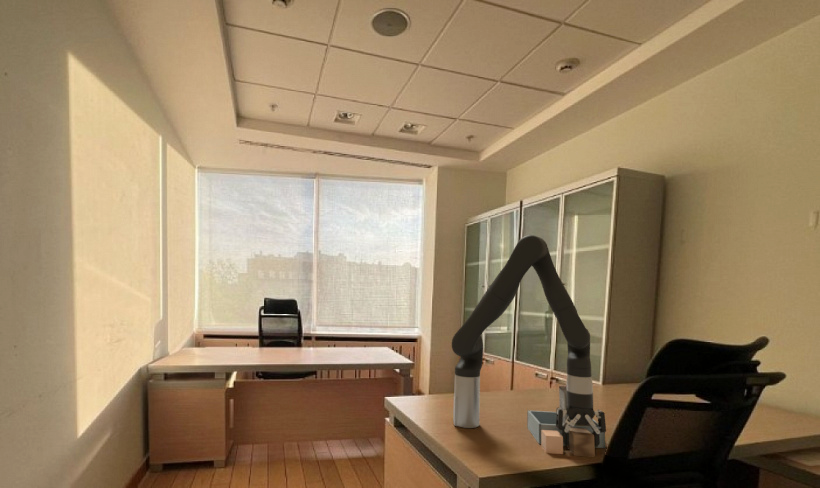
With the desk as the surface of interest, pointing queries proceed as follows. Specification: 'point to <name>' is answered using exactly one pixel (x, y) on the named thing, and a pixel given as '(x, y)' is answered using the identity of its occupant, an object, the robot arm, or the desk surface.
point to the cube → (552, 441)
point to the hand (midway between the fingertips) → (581, 445)
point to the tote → (552, 425)
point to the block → (581, 442)
